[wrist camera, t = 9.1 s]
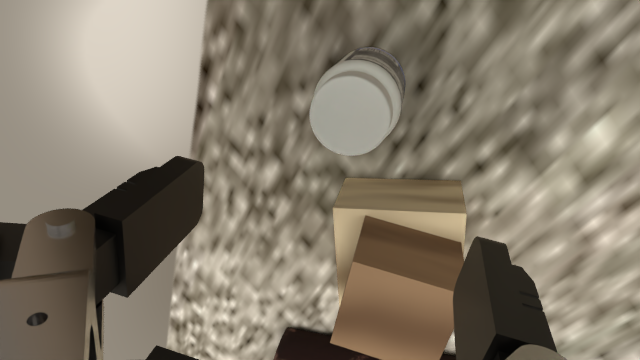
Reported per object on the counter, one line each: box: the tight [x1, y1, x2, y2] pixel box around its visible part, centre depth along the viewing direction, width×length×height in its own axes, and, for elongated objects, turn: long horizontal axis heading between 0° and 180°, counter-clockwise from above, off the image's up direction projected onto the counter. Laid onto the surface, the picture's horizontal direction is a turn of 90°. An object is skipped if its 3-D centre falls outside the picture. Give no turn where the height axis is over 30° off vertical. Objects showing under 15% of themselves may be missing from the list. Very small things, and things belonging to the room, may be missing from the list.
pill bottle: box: [309, 47, 405, 156], centre depth 24 cm, size 5×5×8 cm
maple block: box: [333, 178, 466, 308], centre depth 29 cm, size 8×8×5 cm
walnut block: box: [330, 215, 464, 360], centre depth 25 cm, size 6×6×5 cm
